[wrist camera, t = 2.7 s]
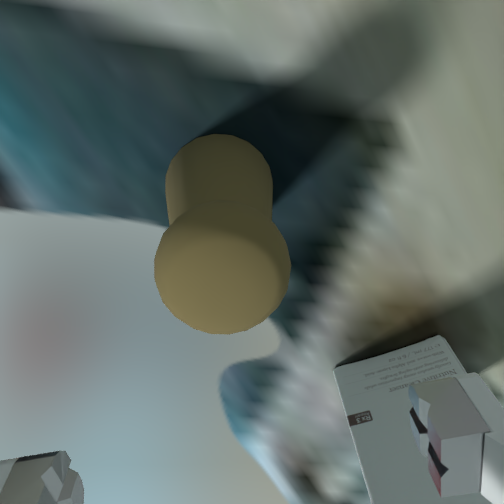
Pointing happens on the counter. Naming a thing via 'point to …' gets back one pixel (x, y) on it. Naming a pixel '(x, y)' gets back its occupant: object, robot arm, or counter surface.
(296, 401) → the counter surface
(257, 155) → the cork
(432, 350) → the skincare box
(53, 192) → the counter surface
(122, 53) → the counter surface
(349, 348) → the counter surface
